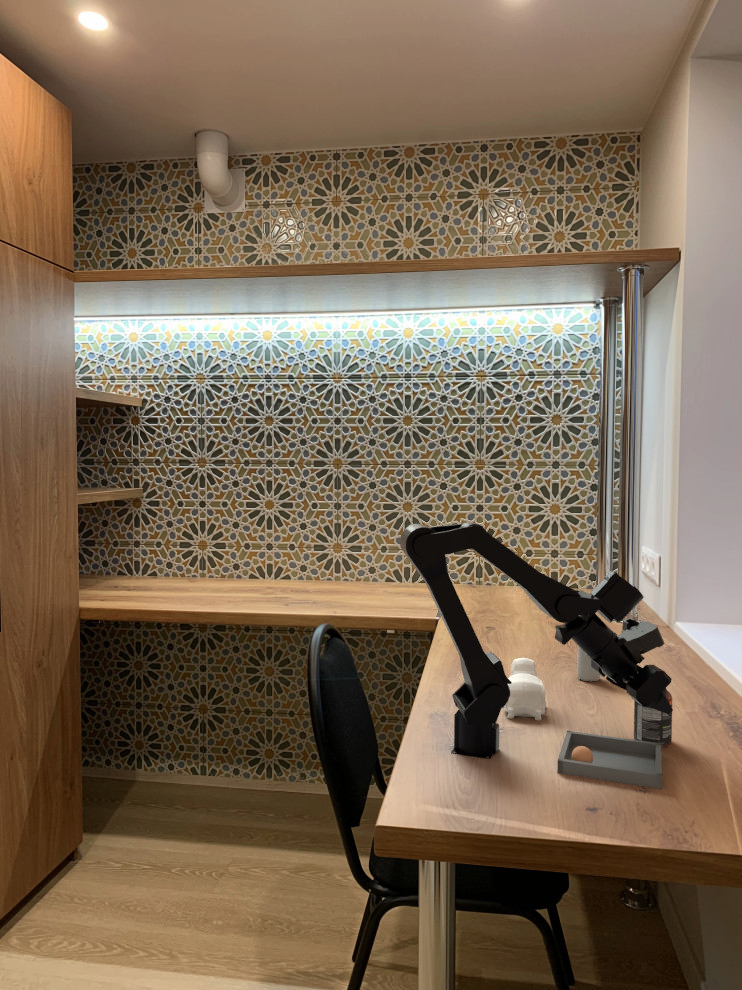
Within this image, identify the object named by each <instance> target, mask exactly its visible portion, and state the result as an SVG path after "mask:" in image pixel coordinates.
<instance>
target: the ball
mask: <svg viewBox="0 0 742 990" xmlns="http://www.w3.org/2000/svg"><path fill="white" fill-rule="evenodd" d="M572 760H574V761H581V762H587V763H592V762H593V754H592V752H591V751H590V749H588V748H587V747H585V746H578V747H576V748H575V749H574V750H573V752H572Z"/></svg>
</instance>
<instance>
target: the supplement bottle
mask: <svg viewBox="0 0 742 990" xmlns="http://www.w3.org/2000/svg"><path fill="white" fill-rule="evenodd" d="M663 692H664V694H665V696H666V697H667V699H668V701H669V703H670V705H671V707H672V708H673V695H672V694H671V692H670V691H669V690H667V687H666V688H665V689H664V690H663ZM633 703H634V704H633V705H634V707H633V710H634V712H633V714H634V715H633V740H640V741H647V742H654V743H661V749H664V748H665V749H666V748H668V747H671V745H672V736H673V734H672V733H673V711H672V712H671V713H670V714H666V713H663V712H661V711H658V710H656V709H653V708H651V707H648V706H647V707H643V706H641V705H640V704H639V703H637V702H636V701H635V700H633Z"/></svg>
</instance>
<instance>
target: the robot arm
mask: <svg viewBox="0 0 742 990" xmlns="http://www.w3.org/2000/svg"><path fill="white" fill-rule="evenodd" d="M399 545H400V549H401V551H402V552H403V553H404V555H405V556H406V558H407V559H408V561H409V562H410V564H411V565H412V566H413V568H414V569H415V571H416V572H417V573H418V574H419V576H420V577H421V578H422V580H423V581H424V583H425V585H426V586H427V589H428V590H429V593H430V595H431V599H433V602H434V603H435V606H436V608H437V610H438V613H439V615H440V617H441V619H442V621H443V623H444V626H445V627H446V630H447V632H448V635H449V636H450V638H451V640H452V643H453V645H454V647H455V650H456V651H457V654H458V656H459V660H460V666H461V672H462V675H463V679H464V680H463V681H464V682H463V684H461V685H460V687H459V688H457V689H456V690H455V692H454V693H452V699H453V702H454V705H455V707H456V708H457V711H456V712H455V713H454V716H453V717H454V719H453V721H454V722H453V723H454V724H453V725H454V727H453V731H454V732H453V733H454V734H453V748H452V750H451V752H450V754H451V755H459V756H465V757H466V756H467V757H472V758H477V759H478V758H479V759H486V760H491V759H492V757H493V756H494V755H496V754H497V753H498V750H499V749H500V724H499V723H497V722H498V719H499V716H500V713H501V711H502V709H504V706H505V705H506V703H507V702H508V699H509V697H510V689H509V686H508V684H511V683H512V682H511V681H510V680H509V679H508V678H509V677H507V675H506V672H505V669H504V665H503V662H502V660H501V659H500V658H499V657H498V656H497V655H496V654H495V653H494V652H493V651H492V650H490V651H488V652H487V653H486V652H485V651H484V648H483V647H482V645H481V643H480V640H479V638H478V636H477V633H476V632H475V629H474V627H473V625H472V623H471V621H470V619H469V616H468V614H467V612H466V610H465V608H464V605H463V603H462V602H461V599H460V596H459V595H458V592H457V590H456V588H455V586H454V583H453V582H452V579H451V578H450V575H449V570H448V563H447V558H446V555H451V554H455V553H458V552H462V551H466V550H467V551H468V550H472V551H473V552H475V553H476V554H477V555H478V556H480V557H481V558H483V559H484V560H485V561H487V562H488V563H489V564H490V565H491V566H493V567H494V568H496V569H497V570H499V572H501V573H502V574H503V575H505V576H506V577H508V579H510V580H512V581H513V582H514V583H515V584H517V585H518V586H519V587H520V588H521V589H522V590H523V591H524V593H525V594H526V595H527V596H528V597H529V599H530V600H531V601H532V602H533V603H534V604H535V605H536V606H537V608H538V609H539V611H541V612H543V613H544V614H545V615H547V616H549V617H550V618H552V619H553V620H555V621H557V622H559V623H562V624H556V625H555V627H554V628H555V636H554V639H555V640H556V641H557V642H558V643H560V644H562V646H564V645H567V644H568V643H569V642H570V640H572V641H573V642H574V643H575V644H576V645H577V647H578V646H579V647H580V648H581V649H582V650H583V651H584V652H585V653H586V654H585V655H586V656H587V657H588V658H589V659H591V667H592V668H593V669H594V670H595V671H596V672H597V673H598V674H599V675H600V677H602V678H605V680H606V681H608V682H609V683H611V684H612V685H614V686H615V687H618V688H620V689H621V690H624V691H626V693H627V694H628V696H630V697H631V699H632V700H633V701H634V700H635V701H636V702H637V703H639V704H640V705H641V706H643V707H647V706H648V707H651V708H653V709H656V710H658V711H661V712H663V713H666V714H670V713H671V712H672V713H673V711H674V710H673V706H672V707H671V705H670V703H669V701H668V699H667V697H666V696H665V694H664V692H663V690H664V689H665V688H666V689H667V687H668V686H669V685H670V684H671V683H672V677H670V676H669V674H667V672H666V671H665V670H664V669H661V668H660V667H658V666H656V665H655V664H645V665H644V666H643V667H642V666H640V665H638V664H641V663H642V662H643V661H645V657H644V656H643V655H644V654H646V653H649V652H650V651H653V650H654V649H656V648H661V647H662V646H664V645H665V640H664V638H663V637H662V634H661V631H660V630H659V627H658V626H657V625H656V624H654V623H652V622H650V621H646V620H645V621H643V620H639V622H638V621H637V620H636V619H634V618H632V617H628V618H626V617H627V616H628V615H629V614H630V613H631V611H633V610H634V608H636V607H637V606H638V604H640V602H642V601H643V599H644V598H645V597H644V595H643V593H642V592H641V591H640V590H639V589H638V588H637V587H636V586H635V585H633V584H631V582H629V581H628V580H626V579H625V578H623V577H622V576H621V575H620V574H618V572H615V571H613V570H609V571H608V572H607V573H606V574H605V576H604V577H603V579H602V580H601V581H600V582H599V583H598V584H597V585H596V586H595V587H594V588H593V589H592V590H591V592H589V593H588V592H587V591H584V590H582V589H580V590H578V589H573V588H572V587H571V586H567V585H565V584H564V583H562V582H560V581H558V580H556V579H553V578H552V577H550V576H548V575H547V574H544V573H542V572H540V570H538V569H536V568H535V567H534V566H532V565H531V564H529V563H528V562H527V561H526V560H524V559H523V558H522V557H520V555H518V554H517V553H515V552H514V551H513V550H511V549H510V548H508V547H507V546H506V545H505V544H504V543H502V542H501V541H499V539H497V538H495V537H494V536H493V535H491V534H490V533H489V532H488V531H487V530H486V529H485V527H484V526H483V525H480V524H478V523H475V522H473V521H467V522H464V523H457V524H447V525H438V526H437V525H436V526H427V525H425V524H421V523H413V524H409V525H407V527H406V528H404V529H403V531H402V532H401V533H400V537H399ZM597 613H598V614H599V616H601V617H602V618H603V619H604V620H605V621H607V622H608V623H610V624H611V623H613V621H614V622H616V623H621V622H622V628H621V629H622V630H621V633H619V634H617V633H616V632H614V631H613V630H612V629H611V628H610V627H609V625H607V624H606V623H605V622H604V621H603V619H602V618H601V617H599V616H598V615H597Z"/></svg>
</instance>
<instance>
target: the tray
mask: <svg viewBox="0 0 742 990" xmlns="http://www.w3.org/2000/svg"><path fill="white" fill-rule="evenodd" d="M578 746H585V747H587V748H588V749H590V751H591V752H592V754H593V762H592V763H587V762H581V761H574V760H572V752H573V750H574V749H575V748H576V747H578ZM662 763H663V762H662V748H661V743H654V742H647V741H640V740H634V739H632V738H631V739H630V738H624V737H618V736H617V737H616V736H610V735H602V734H594V733H588V732H580V731H579V732H578V731H572V730H566V733H565V736H564V738H563V742H562V745H561V748H560V751H559V754H558V758H557V773H558V774H562V775H569V776H574V777H582V778H587V779H595V780H601V781H607V782H614V783H620V784H626V785H634V786H640V787H644V788H645V787H646V788H651V789H659V790H662V785H663V784H662V781H663V780H662V779H663V774H662V773H663V772H662V771H663V769H662Z"/></svg>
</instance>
